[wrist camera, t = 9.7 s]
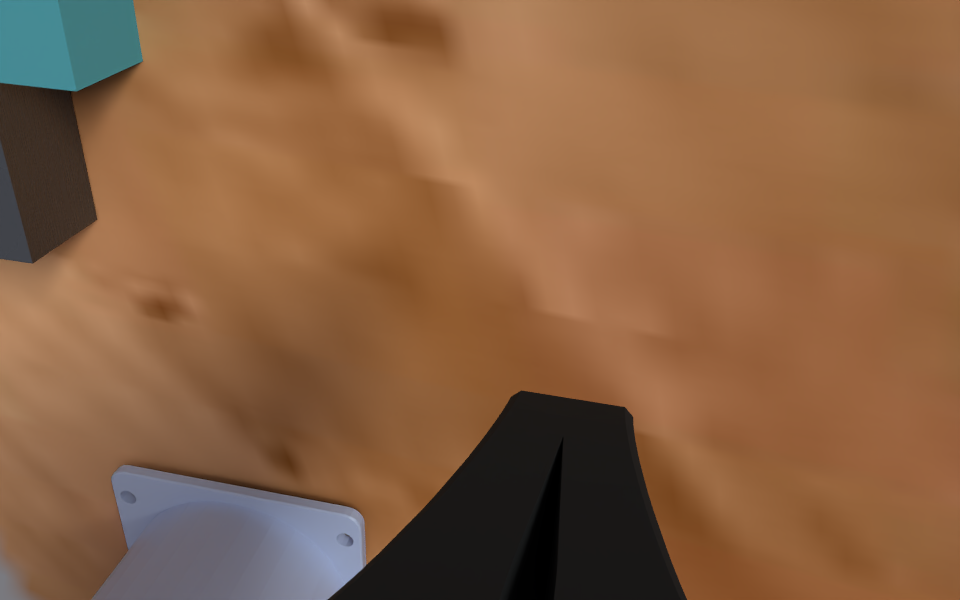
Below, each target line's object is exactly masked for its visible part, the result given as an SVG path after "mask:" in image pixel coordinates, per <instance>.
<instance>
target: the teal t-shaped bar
mask: <svg viewBox="0 0 960 600" xmlns="http://www.w3.org/2000/svg"><path fill="white" fill-rule="evenodd" d="M142 61H143V59H142V53H141V47H140V41H139V35H138V29H137V23H136V17H135V11H134V4H133V0H0V83H6V84H15V85H24V86H33V87H42V88H51V89H60V90H69V91H79V90H81V89H83V88H85V87H87V86H90V85H92V84H94V83H96V82H98V81H101V80H103V79H105V78H107V77H109V76H111V75H114V74H116V73H118V72H120V71H122V70H125V69H127V68H129V67H131V66H133V65H136V64H138V63H140V62H142Z"/></svg>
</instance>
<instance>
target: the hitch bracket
mask: <svg viewBox="0 0 960 600" xmlns="http://www.w3.org/2000/svg"><path fill="white" fill-rule="evenodd" d="M95 220H97V216H96V212H95V207H94V202H93V197H92V193H91V188H90V183H89V178H88V174H87V169H86V164H85V159H84V155H83V150H82V145H81V141H80V136H79V131H78V126H77V122H76V117H75V112H74V107H73V103H72V98H71V93H70V91H69V90H60V89H51V88H42V87H33V86H24V85H15V84H6V83H0V259H6V260H12V261H19V262H26V263H32V264H33V263H34V262H36V261H37V260H39V259H40V258H42V257H43V256H44V255H46V254H47V253H49V252H50V251H52V250H53V249H55V248H56V247H58V246H59V245H60V244H62V243H63V242H65V241H66V240H68V239H69V238H71V237H72V236H74V235H75V234H76V233H78V232H79V231H81V230H82V229H84V228H85V227H87V226H88V225H90V224H91V223H92V222H94V221H95Z"/></svg>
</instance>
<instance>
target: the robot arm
mask: <svg viewBox="0 0 960 600" xmlns="http://www.w3.org/2000/svg"><path fill="white" fill-rule="evenodd" d="M111 481H112V485H113V490H114V494H115V498H116V502H117V506H118V510H119V514H120V518H121V522H122V526H123V530H124V535H125V539H126V543H127V547H128V552H127V553H126V554H125V556H124V557H123V558H122V560H121V561H120V562H119V564H118V565H117V566H116V567H115V569H114V570H113V571H112V573H111V574H110V575H109V577H108V578H107V579H106V581H105V582H104V583H103V585H102V586H101V587H100V589H99V590H98V591H97V592H96V594H95V595H94V596H93V598H92V599H91V600H687V599H686V596H685V594H684V592H683V589H682V587H681V585H680V582H679V580H678V577H677V575H676V572H675V570H674V567H673V564H672V562H671V559H670V557H669V554H668V551H667V548H666V545H665V543H664V540H663V537H662V534H661V531H660V528H659V525H658V523H657V520H656V517H655V514H654V511H653V508H652V505H651V502H650V498H649V495H648V492H647V488H646V484H645V481H644V477H643V473H642V469H641V466H640V461H639V457H638V452H637V447H636V442H635V435H634V427H633V417H632V415H631V414H630V413H629V412H628V410H627V409H626V408H625V407H620V406H614V405H608V404H601V403H595V402H589V401H583V400H577V399H570V398H564V397H558V396H552V395H546V394H539V393H533V392H527V391H520V392H518V393H517V394H515V395H513V396H512V397H511V398H510V400H509V401H508V403H507V405H506V406H505V408H504V410H503V411H502V413H501V414H500V415H499V417H498V418H497V420H496V421H495V423H494V424H493V426H492V427H491V428H490V430H489V431H488V432H487V434H486V435H485V436H484V438H483V439H482V440H481V442H480V443H479V444H478V445H477V447H476V448H475V449H474V450H473V452H472V453H471V454H470V456H469V457H468V458H467V459H466V460H465V462H464V463H463V464H462V465H461V466H460V467H459V469H458V470H457V471H456V472H455V473H454V474H453V476H452V477H451V478H450V479H449V480H448V481H447V482H446V484H445V485H444V486H443V487H442V488H441V489H440V491H439V492H438V493H437V494H436V495H435V496H434V497H433V499H432V500H431V501H430V502H429V503H428V504H427V505H426V506H425V507H424V508H423V509H422V510H421V511H420V512H419V513H418V514H417V516H416V517H415V518H414V519H413V520H412V521H411V522H410V523H409V524H408V525H407V526H406V527H405V528H404V529H403V530H402V531H401V532H400V533H399V534H398V535H397V536H396V537H395V538H394V539H393V540H392V541H391V542H390V543H389V544H388V545H387V546H386V547H385V548H384V549H383V550H382V551H381V552H380V553H379V554H378V555H377V556H376V557H375V558H374V559H372V560H371V561H370V562H369V563H368V564H367V565H366V545H365V522H364V519H363V517H362V515H361V514H360V513H359V512H358V511H357V510H355V509H353V508H350V507H347V506H341V505H336V504H331V503H326V502H320V501H315V500H310V499H305V498H299V497H294V496H289V495H284V494H278V493H273V492H268V491H263V490H257V489H252V488H247V487H242V486H236V485H231V484H226V483H221V482H215V481H210V480H205V479H199V478H194V477H189V476H184V475H178V474H173V473H168V472H163V471H157V470H152V469H147V468H142V467H136V466H131V465H122V466H120V467H119V468H118V469H117V470H116V471H115V472H114V474H113V475H112V477H111ZM344 533H345V534H347V535H349V536H350V537H349V536H347V535H345V534H344Z"/></svg>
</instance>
